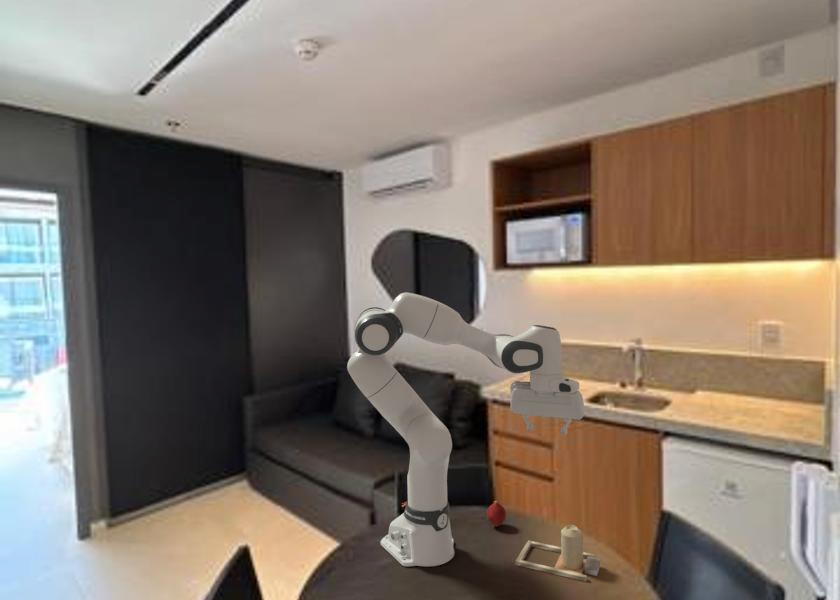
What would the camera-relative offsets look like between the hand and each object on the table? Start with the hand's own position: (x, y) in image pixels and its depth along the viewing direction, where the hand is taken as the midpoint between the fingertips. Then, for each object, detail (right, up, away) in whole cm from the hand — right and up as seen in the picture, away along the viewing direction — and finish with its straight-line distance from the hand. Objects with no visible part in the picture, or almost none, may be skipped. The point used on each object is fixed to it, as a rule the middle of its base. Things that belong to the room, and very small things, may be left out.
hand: (546, 431), depth 142 cm
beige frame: (+1, -33, -6) cm, 34 cm away
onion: (-12, -33, +15) cm, 38 cm away
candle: (+5, -33, -8) cm, 34 cm away
